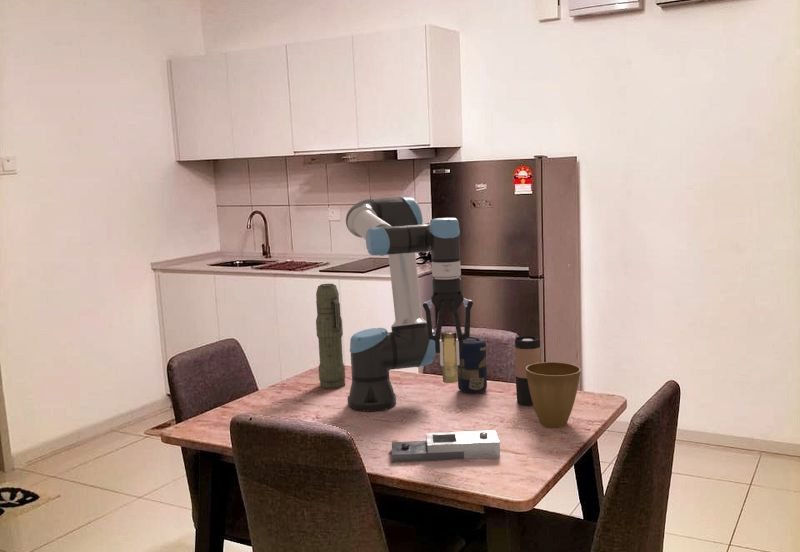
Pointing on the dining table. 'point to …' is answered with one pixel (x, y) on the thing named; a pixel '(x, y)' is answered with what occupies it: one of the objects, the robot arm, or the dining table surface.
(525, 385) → the travel mug
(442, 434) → the door bolt
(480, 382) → the canister
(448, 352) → the pin
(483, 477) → the dining table surface
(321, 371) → the thermos
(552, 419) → the plant pot
